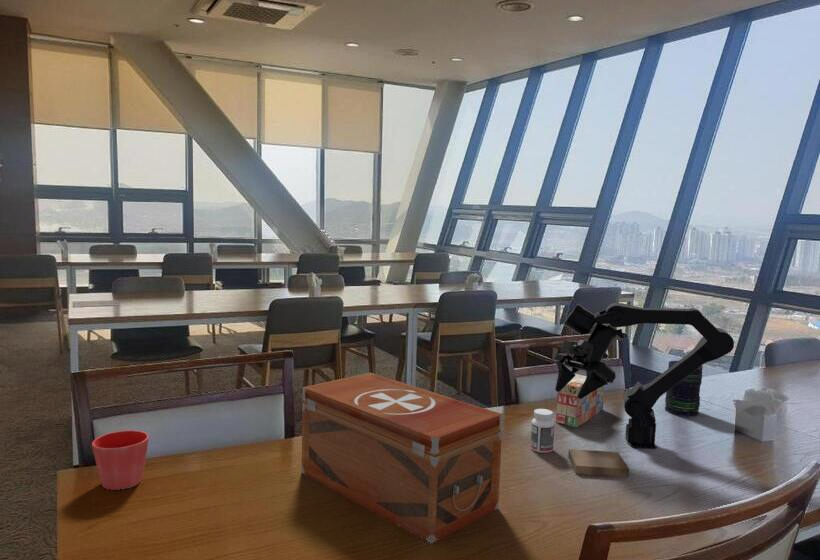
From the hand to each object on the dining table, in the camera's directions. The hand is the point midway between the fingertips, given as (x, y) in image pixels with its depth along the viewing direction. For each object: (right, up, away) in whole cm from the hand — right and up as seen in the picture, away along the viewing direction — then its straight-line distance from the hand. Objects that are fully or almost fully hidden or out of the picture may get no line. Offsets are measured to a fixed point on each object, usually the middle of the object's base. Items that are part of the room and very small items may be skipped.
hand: (567, 394), depth 160 cm
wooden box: (-44, -16, -27) cm, 54 cm away
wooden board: (+4, -15, -12) cm, 20 cm away
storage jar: (+44, -11, +32) cm, 55 cm away
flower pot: (-102, -14, -28) cm, 107 cm away
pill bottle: (-7, -14, -2) cm, 16 cm away
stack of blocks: (+10, -11, +25) cm, 29 cm away
